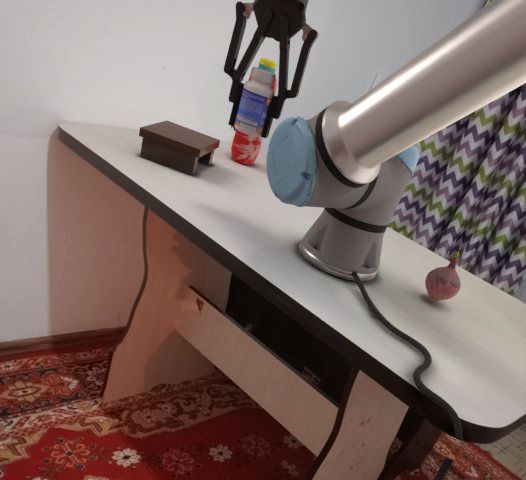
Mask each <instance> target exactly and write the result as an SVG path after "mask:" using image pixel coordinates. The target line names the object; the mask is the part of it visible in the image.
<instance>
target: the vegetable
mask: <svg viewBox="0 0 526 480" xmlns="http://www.w3.org/2000/svg"><path fill="white" fill-rule="evenodd" d="M459 256H460V252H459V251H455V253H454V254H453V255H452V258H451V260H450V262H449V263H448V265H446V266H438V267H436V268H434V269H432V270H430V271H429V272H428V273H427V275H426V277H425V280H424V281H425V283H424V285H425V289H426V293H427V295H428V297H429V299H430V300H431V301H433V302H439V301H446V300H450V299H452V298H454V297H455V296H456V295H458V293H459V291H460V289H461V285H462V284H461V283H462V282H461V279H460V276H459V274H458V272H457V269H456V268H457V267H456V266H457V263H458V260H459Z"/></svg>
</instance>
